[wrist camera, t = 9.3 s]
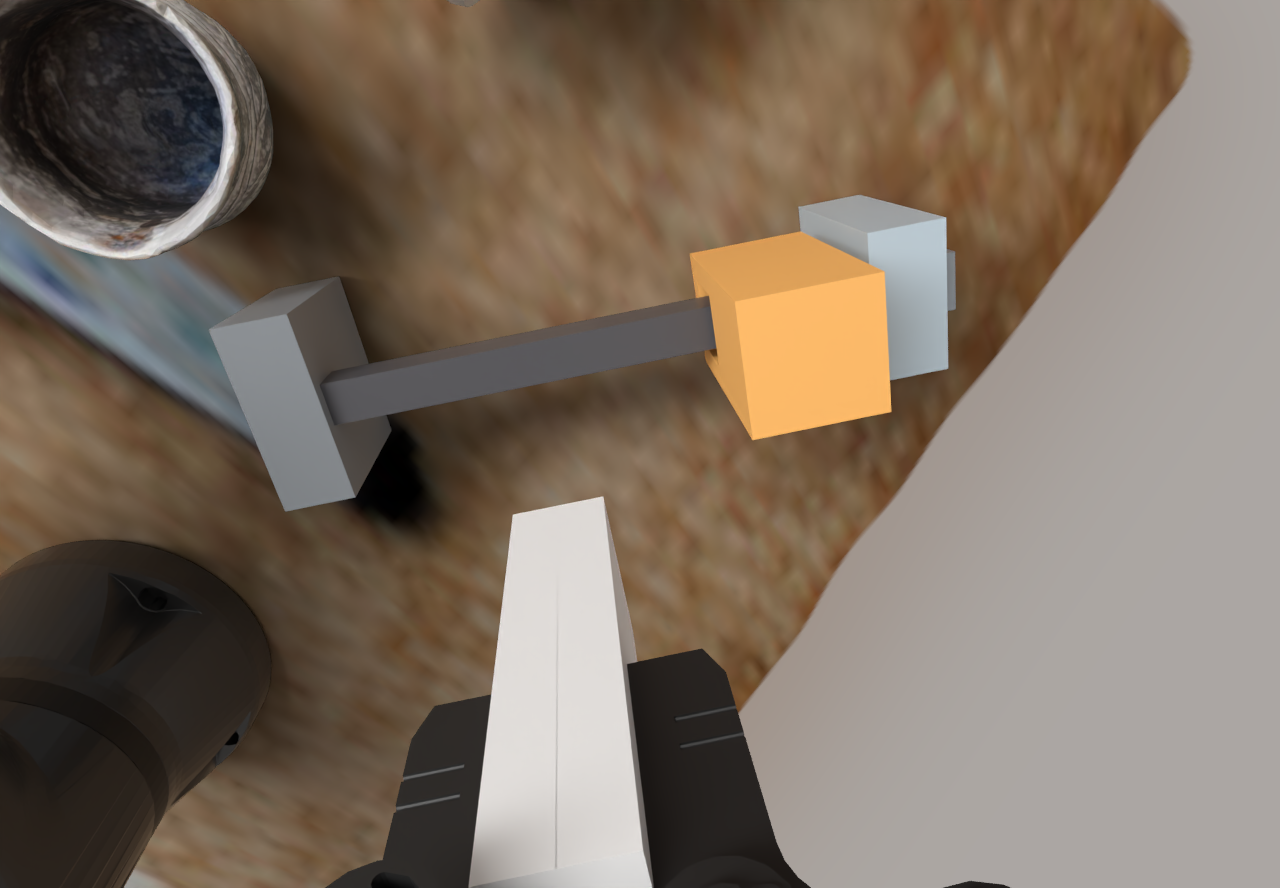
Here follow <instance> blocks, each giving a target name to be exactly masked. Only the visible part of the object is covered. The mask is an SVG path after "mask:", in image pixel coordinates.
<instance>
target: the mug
mask: <svg viewBox="0 0 1280 888" xmlns="http://www.w3.org/2000/svg"><path fill="white" fill-rule="evenodd" d="M272 157H273V125H272V118H271V112H270V107H269V103H268V99H267V94H266V90H265V87H264V84H263V81H262V79H261V77H260V75H259V73H258V71H257V69H256V67H255V65H254V63H253V62H252V60H251V58H250V56H249V55H248V53H247V51H246V50H245V49H244V48H243V47H242V46H241V45H240V44H239V43H238V42H237V41H236V39H235V38H234V37H233V36H232V35H231V34H230V33H229V32H228V31H227V30H226V29H225V28H224V27H222V26H221V25H220V24H219V23H218V22H217V21H215V20H214V19H212V18H210V17H209V16H208V15H206V14H205V13H203V12H201V11H199V10H198V9H196V8H195V7H193V6H192V5H190V4H188V3H187V2H185V1H184V0H0V204H1V205H2V206H3V207H5V208H6V209H7V210H9V211H10V212H12V213H13V214H14V215H16V216H17V217H19V218H20V219H21V220H23V221H24V222H26V223H27V224H29V225H30V226H32V227H34V228H35V229H37V230H38V231H40V232H42V233H43V234H45V235H46V236H48V237H49V238H51V239H53V240H54V241H56V242H57V243H59V244H61V245H63V246H66V247H69V248H72V249H75V250H78V251H82V252H86V253H89V254H93V255H97V256H101V257H106V258H111V259H121V260H139V259H148V258H151V257H154V256H157V255H160V254H162V253H164V252H167V251H170V250H173V249H175V248H177V247H179V246H182V245H184V244H186V243H188V242H189V241H191V240H193V239H194V238H196V237H198V236H199V235H200V234H201V233H202V232H203V231H206V230H209V229H212V228H215V227H218V226H220V225H222V224H224V223H226V222H228V221H230V220H232V219H233V218H235V217H236V216H237V215H239V214H240V213H241V212H242V211H244V210H245V209H246V208H247V207H248V206H249V204H250V203H251V202H252V201H253V200H254V199H255V198H256V197H257V196H258V194H259V192H260V191H261V189H262V187H263V186H264V183H265V181H266V178H267V175H268V173H269V170H270V166H271V162H272Z"/></svg>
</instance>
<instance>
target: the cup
mask: <svg viewBox="0 0 1280 888" xmlns="http://www.w3.org/2000/svg"><path fill="white" fill-rule="evenodd" d="M448 1H449V2H450V3H452V4H456V5H460V6H465V7H470V6H473V5H474V4H475V3H477V2H478V1H479V0H448Z"/></svg>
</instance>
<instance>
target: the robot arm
mask: <svg viewBox="0 0 1280 888" xmlns="http://www.w3.org/2000/svg"><path fill="white" fill-rule="evenodd" d="M270 680H271V659H270V653H269V648H268V645H267V641H266V638H265V636H264V634H263V631H262V629H261V627H260V625H259V623H258V622H257V620H256V618H255V617H254V615H253V614H252V612H251V611H250V610H249V608H248V607H247V606H246V605H245V604H244V602H243V601H242V600H241V599H240V598H239V597H238V596H237V595H236V594H235V593H234V592H233V591H232V590H231V589H230V588H229V587H228V586H226V585H225V584H224V583H223V582H221V581H220V580H219V579H218V578H216V577H215V576H213V575H212V574H210V573H209V572H207V571H206V570H204V569H202V568H201V567H199V566H197V565H195V564H193V563H191V562H189V561H187V560H185V559H183V558H181V557H178V556H176V555H173V554H171V553H168V552H165V551H162V550H159V549H156V548H152V547H148V546H144V545H139V544H134V543H128V542H121V541H107V540H92V541H78V542H71V543H65V544H60V545H56V546H52V547H49V548H46V549H43V550H40V551H38V552H35V553H33V554H31V555H29V556H27V557H25V558H23V559H22V560H20V561H18V562H17V563H15V564H14V565H12V566H11V567H10V568H8V569H7V570H6V571H5V572H3V573H2V574H1V575H0V888H124V886H125V884H126V882H127V881H128V879H129V877H130V875H131V873H132V872H133V870H134V868H135V866H136V864H137V862H138V861H139V859H140V857H141V855H142V853H143V851H144V850H145V848H146V846H147V844H148V842H149V840H150V838H151V837H152V835H153V833H154V831H155V830H156V828H157V826H158V824H159V823H160V821H161V819H162V818H163V816H164V814H165V813H166V812H167V811H168V810H169V809H170V808H172V807H173V806H174V805H175V804H176V803H177V802H178V801H179V800H180V799H181V798H183V797H184V796H185V795H186V794H187V793H188V792H189V791H190V790H191V789H193V788H194V787H195V786H196V785H197V784H198V783H199V782H200V781H201V780H203V779H204V778H205V777H206V776H207V775H208V774H209V773H210V772H211V771H212V770H213V769H214V768H215V767H216V766H217V765H219V764H220V763H221V762H222V761H223V760H225V759H226V758H227V757H228V756H229V755H230V754H231V753H232V752H233V751H234V750H235V749H236V748H237V747H238V745H239V744H240V743H241V742H242V740H243V739H244V738H245V736H246V735H247V733H248V732H249V730H250V728H251V726H252V724H253V722H254V720H255V718H256V716H257V714H258V712H259V711H260V709H261V707H262V705H263V703H264V701H265V698H266V696H267V693H268V689H269V685H270ZM403 777H404V781H403V782H401V785H400V790H399V794H398V798H397V802H396V813H394V815H393V819H392V823H391V827H390V831H389V836H388V840H387V844H386V848H385V852H384V857H383V860H380V861H376V862H373V863H370V864H368V865H365V866H362V867H360V868H357V869H354V870H352V871H349V872H347V873H346V874H344V875H343V876H341V877H340V878H338V879H337V880H336V881H334V882H333V883H331V884H330V885H329V886H327V887H326V888H811V887H809V886H808V885H807V884H806V883H804V882H803V881H802V880H801V879H799V878H798V877H797V875H796V874H795V873H794V872H793V870H792V869H791V868H790V867H789V865H788V864H787V863H786V862H785V860H784V858H783V856H782V853H781V851H780V849H779V847H778V845H777V842H776V839H775V836H774V832H773V829H772V826H771V822H770V819H769V816H768V812H767V809H766V806H765V802H764V799H763V795H762V792H761V789H760V785H759V782H758V779H757V775H756V772H755V769H754V765H753V762H752V759H751V755H750V752H749V749H748V745H747V742H746V738H745V737H744V732H743V728H742V725H741V722H740V718H739V715H738V711H737V710H736V705H735V701H734V698H733V695H732V691H731V688H730V685H729V681H728V678H727V675H726V672H725V671H724V670H723V669H722V668H721V667H720V666H719V665H718V664H717V663H716V662H715V661H714V660H713V659H712V658H711V657H710V656H709V655H708V654H707V653H706V652H705V651H704V650H703V649H698V650H693V651H688V652H683V653H678V654H673V655H669V656H664V657H659V658H654V659H649V660H644V661H639V662H637V657H636V650H635V643H634V636H633V629H632V625H631V620H630V616H629V611H628V607H627V602H626V597H625V593H624V588H623V584H622V579H621V575H620V570H619V566H618V561H617V557H616V552H615V548H614V543H613V539H612V534H611V530H610V525H609V520H608V516H607V511H606V507H605V502H604V498H603V497H598V498H593V499H588V500H583V501H578V502H573V503H569V504H564V505H559V506H554V507H549V508H544V509H539V510H534V511H529V512H524V513H519V514H514V515H513V519H512V527H511V535H510V544H509V552H508V560H507V569H506V577H505V586H504V594H503V602H502V611H501V619H500V627H499V636H498V644H497V652H496V661H495V669H494V678H493V686H492V694H491V695H487V696H482V697H477V698H472V699H467V700H463V701H458V702H453V703H448V704H443V705H438V706H434V708H433V709H432V711H431V712H430V714H429V715H428V716H427V718H426V719H425V721H424V722H423V724H422V725H421V727H420V728H419V729H418V731H417V732H416V734H415V735H414V737H413V738H412V740H411V744H410V748H409V752H408V756H407V760H406V765H405V769H404V773H403ZM944 888H1010V887H1008V886H1005V885H1001V884H993V883H984V882H974V881H968V882H964V883H960V884H956V885H952V886H949V887H944Z"/></svg>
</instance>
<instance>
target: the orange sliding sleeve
mask: <svg viewBox="0 0 1280 888" xmlns="http://www.w3.org/2000/svg"><path fill="white" fill-rule="evenodd" d="M690 259H691V266H692V273H693V279H694V286H695V292H696V298H699V297H704V296H709V299H710V306H711V313H712V320H713V327H714V334H715V341H716V348H715V349H710V350H705V351H704V352H705V359H706V362H707V364H708V366H709V367H710V369H711V371H712V372H713V374H714V376H715V377H716V379H717V381H718V382H719V384H720V386H721V387H722V389H723V391H724V393H725V394H726V396H727V398H728V399H729V401H730V403H731V404H732V406H733V408H734V409H735V411H736V413H737V414H738V416H739V418H740V420H741V421H742V423H743V425H744V426H745V428H746V430H747V431H748V433H749V435H750V436H751V438H752V440H756V439H761V438H766V437H770V436H775V435H780V434H785V433H790V432H795V431H800V430H805V429H810V428H815V427H819V426H824V425H829V424H834V423H839V422H844V421H849V420H854V419H859V418H864V417H868V416H873V415H878V414H883V413H888V412H891V394H890V373H889V352H888V331H887V310H886V289H885V271H883V270H880V269H878V268H876V267H874V266H872V265H870V264H868V263H866V262H864V261H862V260H860V259H857V258H855V257H853V256H851V255H849V254H847V253H845V252H843V251H841V250H839V249H837V248H834V247H832V246H830V245H828V244H826V243H824V242H822V241H820V240H818V239H816V238H814V237H811V236H809V235H807V234H805V233H803V232H796V233H791V234H786V235H781V236H776V237H771V238H766V239H761V240H756V241H751V242H746V243H741V244H736V245H731V246H726V247H721V248H716V249H711V250H706V251H701V252H696V253H691V254H690Z"/></svg>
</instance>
